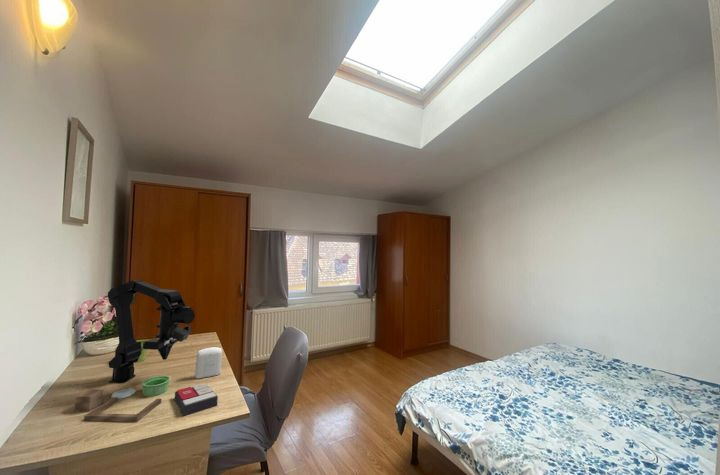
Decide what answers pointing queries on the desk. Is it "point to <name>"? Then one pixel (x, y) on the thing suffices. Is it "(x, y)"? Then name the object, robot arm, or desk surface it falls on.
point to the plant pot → (143, 352)
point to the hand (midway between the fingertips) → (164, 359)
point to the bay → (99, 416)
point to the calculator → (195, 399)
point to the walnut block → (89, 400)
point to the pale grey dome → (123, 393)
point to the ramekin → (155, 385)
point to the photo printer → (208, 362)
